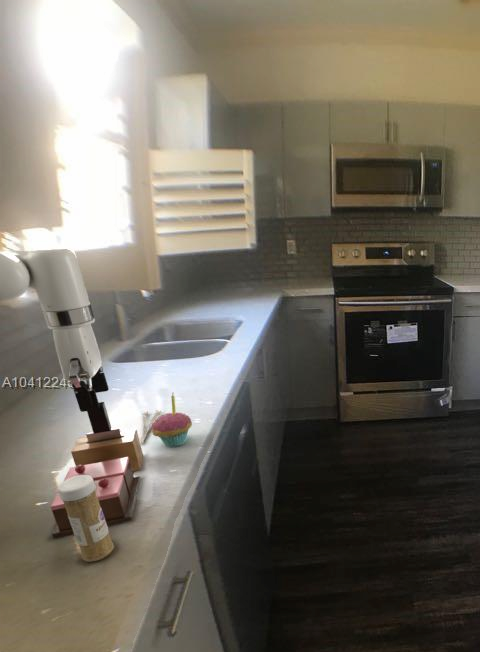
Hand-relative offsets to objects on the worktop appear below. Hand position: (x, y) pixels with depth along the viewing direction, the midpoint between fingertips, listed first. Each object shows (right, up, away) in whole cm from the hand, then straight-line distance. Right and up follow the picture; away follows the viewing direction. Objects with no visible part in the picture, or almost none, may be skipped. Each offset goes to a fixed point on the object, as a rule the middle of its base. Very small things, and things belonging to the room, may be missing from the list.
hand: (95, 400), depth 92 cm
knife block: (0, -15, +6) cm, 16 cm away
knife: (0, -14, +5) cm, 15 cm away
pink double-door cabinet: (+5, -19, -7) cm, 21 cm away
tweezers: (-1, -8, +23) cm, 24 cm away
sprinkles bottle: (+12, -24, -18) cm, 32 cm away
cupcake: (+9, -11, +16) cm, 21 cm away
